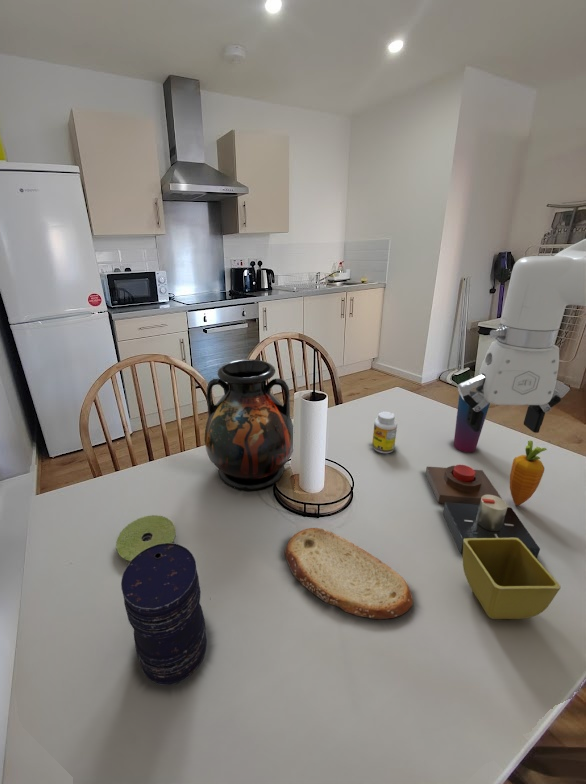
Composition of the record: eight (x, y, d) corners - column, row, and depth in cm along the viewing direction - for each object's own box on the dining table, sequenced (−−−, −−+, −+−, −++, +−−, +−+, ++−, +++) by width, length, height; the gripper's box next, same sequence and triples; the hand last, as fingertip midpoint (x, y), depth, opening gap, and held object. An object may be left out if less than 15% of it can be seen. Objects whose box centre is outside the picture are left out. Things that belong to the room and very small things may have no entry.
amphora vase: (199, 500, 80) (185, 387, 70) (217, 447, 100) (208, 353, 90) (295, 504, 78) (296, 387, 67) (294, 449, 97) (294, 352, 87)
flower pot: (452, 577, 60) (462, 537, 57) (506, 577, 59) (518, 536, 56) (483, 632, 52) (496, 588, 48) (545, 632, 51) (563, 588, 48)
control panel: (507, 519, 71) (511, 506, 70) (535, 561, 62) (540, 548, 61) (442, 513, 73) (445, 501, 72) (460, 553, 64) (463, 540, 63)
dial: (495, 516, 68) (501, 494, 66) (505, 532, 64) (512, 509, 62) (472, 514, 69) (477, 492, 67) (481, 530, 65) (487, 507, 63)
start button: (469, 471, 79) (471, 465, 79) (476, 483, 76) (478, 476, 75) (450, 470, 80) (451, 464, 80) (456, 481, 77) (457, 475, 76)
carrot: (505, 493, 78) (521, 434, 72) (533, 504, 74) (553, 443, 69) (499, 505, 75) (516, 444, 69) (528, 517, 71) (549, 454, 66)
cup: (485, 454, 91) (497, 401, 86) (458, 454, 91) (469, 402, 86) (470, 439, 97) (480, 389, 92) (444, 440, 98) (454, 390, 92)
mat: (138, 580, 62) (136, 572, 62) (107, 546, 70) (105, 539, 69) (188, 540, 70) (187, 533, 69) (155, 514, 77) (154, 507, 76)
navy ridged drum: (213, 671, 49) (203, 595, 43) (139, 698, 46) (118, 621, 41) (200, 604, 58) (191, 534, 52) (138, 624, 55) (121, 553, 50)
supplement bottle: (368, 444, 98) (371, 411, 94) (386, 441, 99) (390, 408, 95) (378, 455, 93) (382, 421, 89) (398, 452, 94) (402, 418, 90)
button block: (480, 477, 83) (484, 463, 81) (500, 508, 74) (505, 493, 72) (425, 473, 85) (427, 459, 84) (438, 503, 76) (441, 488, 74)
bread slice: (422, 612, 55) (425, 595, 53) (310, 636, 52) (310, 619, 51) (366, 525, 71) (368, 510, 70) (279, 540, 69) (279, 525, 67)
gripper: (480, 343, 55) (460, 438, 61) (603, 342, 53) (569, 440, 59) (458, 331, 62) (442, 417, 68) (566, 329, 60) (539, 418, 66)
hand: (501, 428), depth 64 cm, fingers open, 9 cm apart
